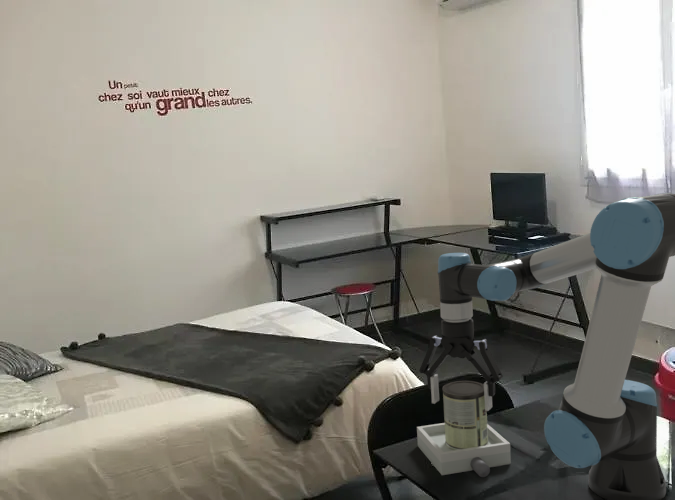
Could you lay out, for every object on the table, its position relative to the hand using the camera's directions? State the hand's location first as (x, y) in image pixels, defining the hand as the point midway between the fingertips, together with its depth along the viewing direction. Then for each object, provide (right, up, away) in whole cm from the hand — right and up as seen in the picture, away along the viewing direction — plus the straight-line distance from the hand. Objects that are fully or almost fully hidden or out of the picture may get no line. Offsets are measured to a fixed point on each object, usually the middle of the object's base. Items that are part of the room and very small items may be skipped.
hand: (461, 405), depth 166 cm
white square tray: (+1, -13, 0) cm, 13 cm away
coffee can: (+1, -10, +1) cm, 10 cm away
